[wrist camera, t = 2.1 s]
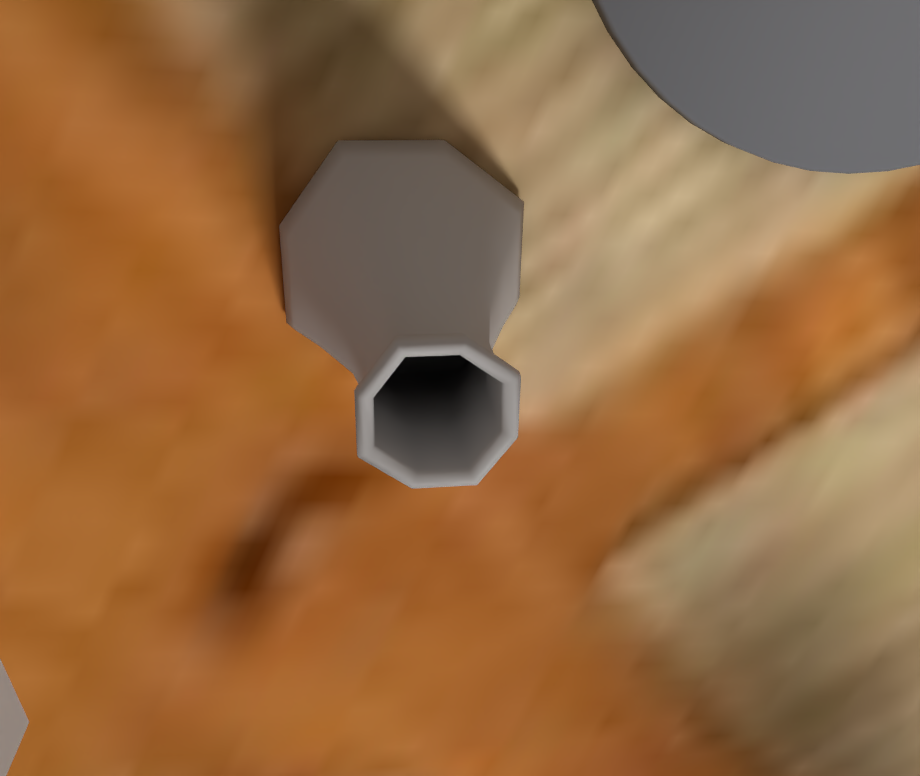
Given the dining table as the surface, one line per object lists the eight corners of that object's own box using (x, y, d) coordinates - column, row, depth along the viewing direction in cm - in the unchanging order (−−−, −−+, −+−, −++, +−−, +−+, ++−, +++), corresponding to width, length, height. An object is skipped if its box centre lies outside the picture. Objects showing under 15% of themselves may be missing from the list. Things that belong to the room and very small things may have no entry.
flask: (314, 93, 22) (296, 167, 13) (562, 178, 24) (693, 294, 15) (249, 338, 25) (198, 536, 16) (477, 398, 27) (545, 606, 18)
